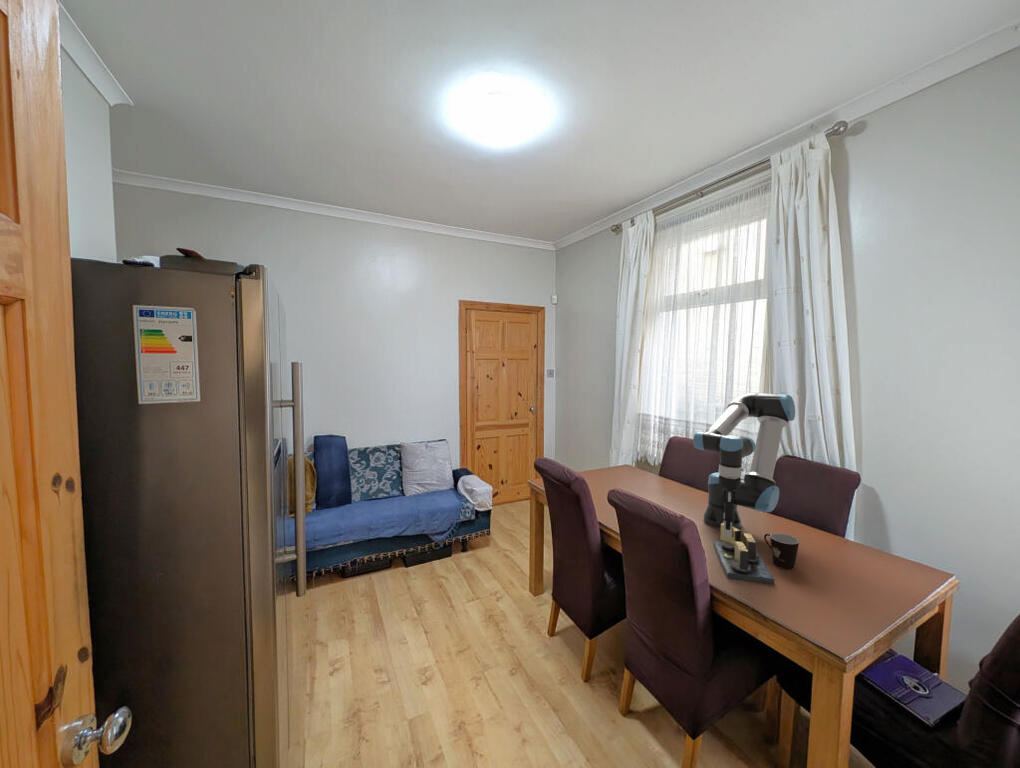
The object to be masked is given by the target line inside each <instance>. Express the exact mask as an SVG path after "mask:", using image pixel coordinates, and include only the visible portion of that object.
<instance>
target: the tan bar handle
mask: <svg viewBox="0 0 1020 768" xmlns="http://www.w3.org/2000/svg"><path fill="white" fill-rule="evenodd" d="M731 567H732V568H733V569H734V570H736V571H738V572H742V573H749V572H751V565H750V564H749V563H748V550H747V549H746V547H745V545H744V544H743V541H741V542H738V541H735V560H732V561H731Z"/></svg>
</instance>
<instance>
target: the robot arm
mask: <svg viewBox="0 0 1020 768" xmlns="http://www.w3.org/2000/svg"><path fill="white" fill-rule="evenodd" d="M750 417H751V418H757V421H758V423H759V427H758V433H757V435H756V441H754V439H753V438H751V437H749V436H738V435H730V434H731V433H732V432H733V430H734V429H736V427H737V426H738V425H739V424H740V423H741V421H744V420H746V419H747V418H750ZM795 419H796V405H795V401H794V398H793V396H791V395H790V394H786V393H769V392H768V393H765V392H749V393H746V394H743V395H740V396H739V397H736V398H735V399H733V400H732V401H731V402H730V403H728V404H727V406H726V410H725V411H724V412H723V414H721V415H720V416H719V417H718V419H716V420H715V422H713V424H712V425H711V426H710V427H709V428H708V429H707V430H705V432H703V431H700V432H699V431H698V432H696V433H694V434H693V435H694V436H693V439H692V444H693V446H694V448H695V449H697V450H701V451H706V452H713V453H719V463H718V472H713V473H711V474H709V476H708V482H707V485H708V486H707V487H708V488H707V489H708V490H707V491H708V492H707V494H708V495H707V506H706V509H705V512H704V514H703V522H705V524H707V525H709V526H711V527H714V528H716V529H720V530H721V524H722V523H724V532H723V536H725V537H730V538H731V536H732V526H733V527H735V528H737V529H738V530H740V528H741V527H742V520H741V517H740V513H739V510H738V506H740V507H743V508H747V509H751V510H754V511H755V510H756V511H757V512H763V513H771V512H772V511H774V510H775V508H776V507H777V505H778V502H779V498H780V488H779V487H778V486H777V485H776V484H777V483H776V481H775V479H774V478H773V477H774V472H775V467H776V463H777V457H778V454H779V448H780V444H781V438H782V434H783V431H784V430H783V428H785V427H787V426H788V425H789V421H790V422H791V421H794V420H795ZM752 454H753V455H752ZM751 455H752V460H751V463H750V464H751V465H750V468H749V472H748V473H745V474H744V477H743V479H742V478H741V476H742V472H744V469H743V468H742V467H743V465H742V464H743V458H745V457H747V456H748V457H749V456H751Z"/></svg>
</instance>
